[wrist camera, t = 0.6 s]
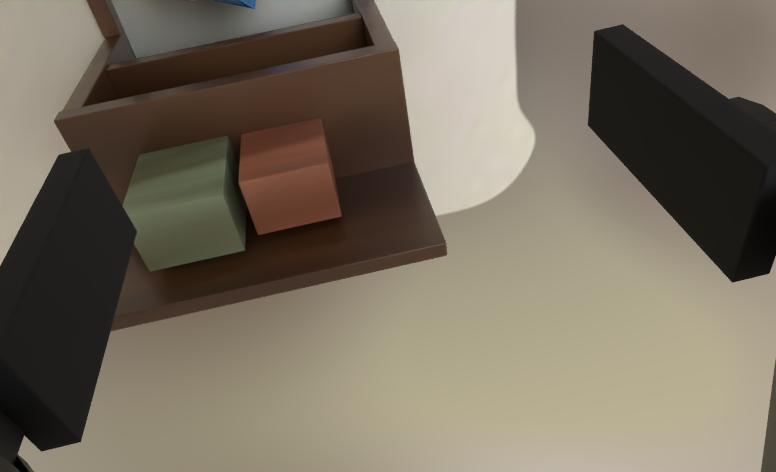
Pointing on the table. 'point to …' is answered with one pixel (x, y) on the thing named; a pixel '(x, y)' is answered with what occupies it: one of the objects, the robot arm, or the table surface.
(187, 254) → the desk rack
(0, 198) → the table surface
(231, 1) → the perfume bottle
